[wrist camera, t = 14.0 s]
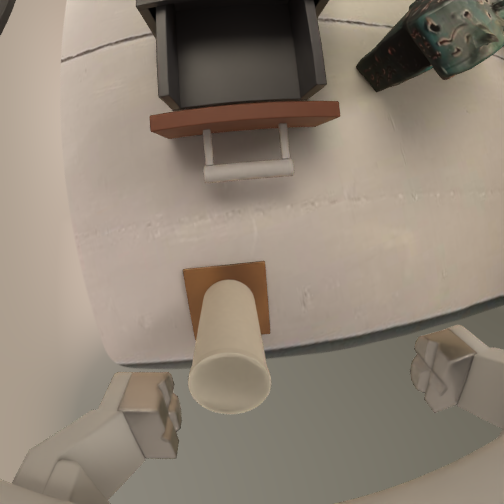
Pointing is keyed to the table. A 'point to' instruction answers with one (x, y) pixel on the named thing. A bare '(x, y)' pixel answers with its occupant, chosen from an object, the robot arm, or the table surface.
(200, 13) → the drawer
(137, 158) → the table surface
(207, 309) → the container
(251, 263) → the coaster
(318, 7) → the cabinet
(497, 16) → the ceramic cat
